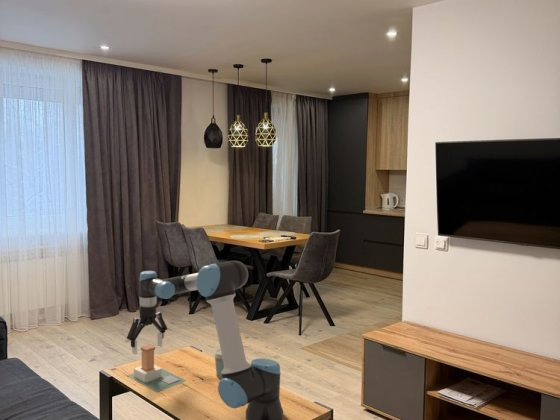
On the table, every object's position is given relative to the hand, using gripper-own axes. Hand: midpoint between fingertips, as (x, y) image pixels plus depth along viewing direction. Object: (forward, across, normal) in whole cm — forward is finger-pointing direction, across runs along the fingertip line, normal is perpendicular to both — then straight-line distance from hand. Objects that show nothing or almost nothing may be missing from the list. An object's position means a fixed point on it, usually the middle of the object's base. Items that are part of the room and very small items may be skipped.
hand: (147, 349), depth 226 cm
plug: (+13, 0, 0) cm, 13 cm away
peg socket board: (+14, -2, +4) cm, 15 cm away
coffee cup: (+14, -27, +22) cm, 38 cm away
